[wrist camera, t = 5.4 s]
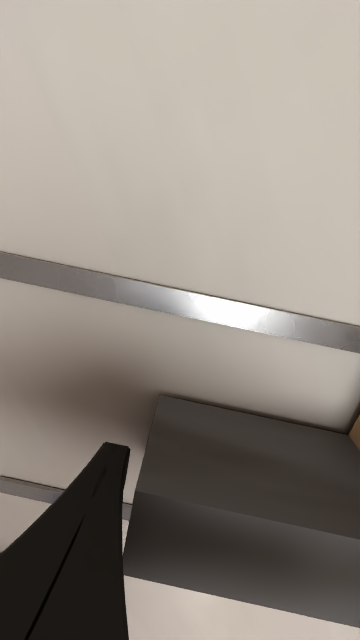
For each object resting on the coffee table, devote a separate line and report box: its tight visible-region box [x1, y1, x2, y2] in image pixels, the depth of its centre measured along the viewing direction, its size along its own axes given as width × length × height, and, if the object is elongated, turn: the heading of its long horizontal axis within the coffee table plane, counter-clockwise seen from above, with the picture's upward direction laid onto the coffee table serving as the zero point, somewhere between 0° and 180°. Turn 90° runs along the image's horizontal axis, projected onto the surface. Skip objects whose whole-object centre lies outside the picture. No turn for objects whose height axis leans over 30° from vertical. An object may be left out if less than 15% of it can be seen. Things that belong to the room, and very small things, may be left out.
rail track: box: [0, 252, 360, 521], centre depth 11 cm, size 14×35×1 cm, turn 79°
